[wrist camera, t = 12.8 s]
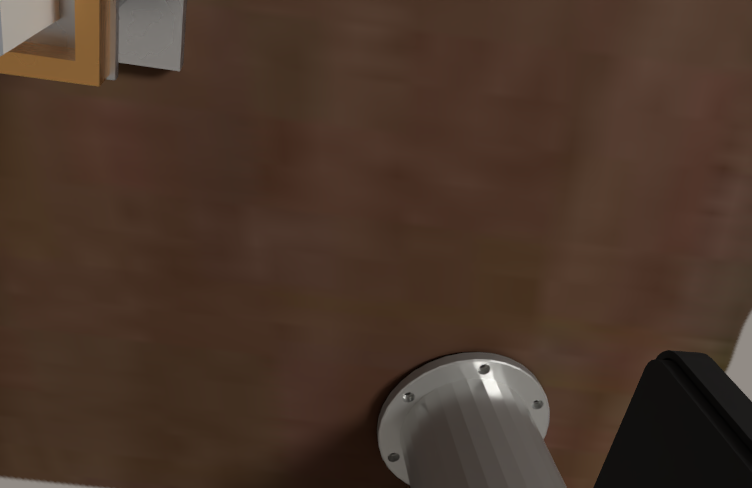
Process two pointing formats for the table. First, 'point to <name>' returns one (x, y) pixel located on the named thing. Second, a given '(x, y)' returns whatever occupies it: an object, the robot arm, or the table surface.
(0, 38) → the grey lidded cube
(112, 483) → the table surface
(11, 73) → the grey and orange container
